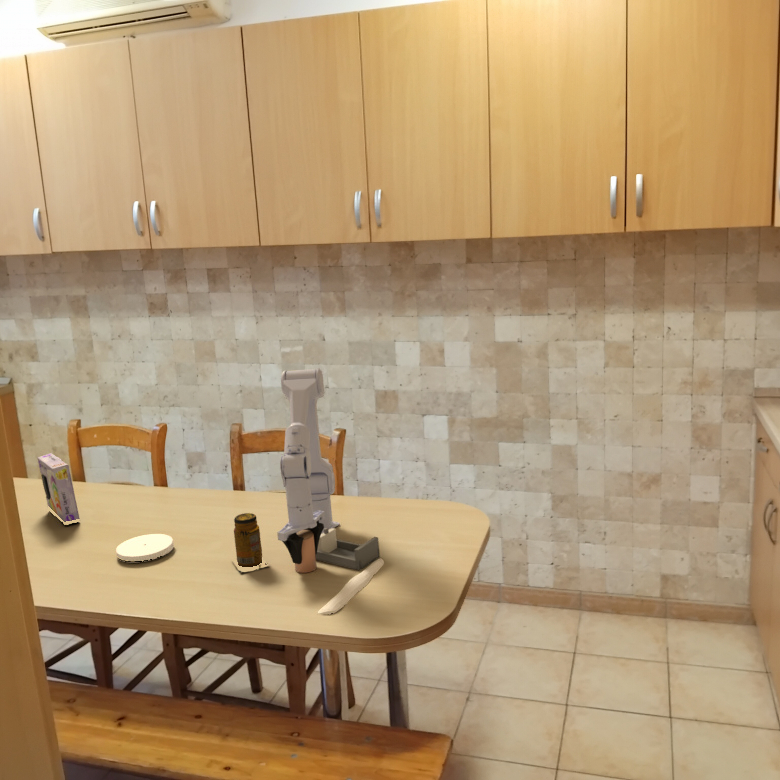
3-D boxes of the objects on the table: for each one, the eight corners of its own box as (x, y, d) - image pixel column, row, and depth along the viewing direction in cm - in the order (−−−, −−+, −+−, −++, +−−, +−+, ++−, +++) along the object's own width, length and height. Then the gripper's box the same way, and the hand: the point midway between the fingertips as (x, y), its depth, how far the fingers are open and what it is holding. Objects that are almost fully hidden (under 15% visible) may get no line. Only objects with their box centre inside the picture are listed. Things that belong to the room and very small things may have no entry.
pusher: (318, 556, 192) (316, 532, 191) (333, 546, 197) (331, 524, 196) (322, 556, 192) (320, 533, 190) (337, 547, 196) (335, 525, 195)
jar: (290, 570, 186) (287, 535, 184) (304, 561, 190) (301, 528, 188) (307, 574, 183) (303, 539, 182) (321, 565, 187) (317, 531, 186)
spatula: (376, 559, 190) (377, 550, 189) (392, 564, 188) (393, 555, 187) (314, 617, 166) (314, 607, 165) (332, 623, 164) (332, 613, 163)
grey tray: (296, 555, 195) (294, 536, 194) (317, 542, 201) (315, 524, 200) (359, 570, 184) (357, 550, 183) (379, 556, 191) (378, 537, 189)
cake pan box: (45, 511, 239) (36, 454, 235) (63, 506, 242) (53, 450, 238) (63, 528, 224) (52, 468, 220) (81, 523, 226) (71, 464, 223)
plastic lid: (180, 556, 200) (179, 546, 199) (123, 571, 193) (121, 561, 193) (166, 538, 212) (165, 529, 211) (112, 552, 206) (111, 543, 205)
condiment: (260, 554, 197) (255, 509, 194) (270, 567, 189) (265, 519, 187) (231, 562, 194) (225, 515, 191) (240, 575, 186) (235, 527, 184)
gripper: (291, 517, 175) (297, 574, 178) (332, 495, 187) (337, 549, 190) (268, 512, 179) (274, 568, 182) (309, 491, 191) (314, 544, 194)
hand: (305, 558), depth 186 cm, fingers closed on jar, 5 cm apart
